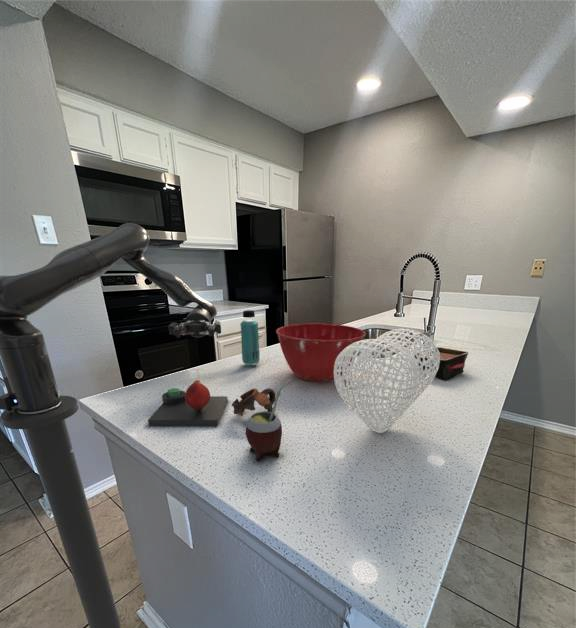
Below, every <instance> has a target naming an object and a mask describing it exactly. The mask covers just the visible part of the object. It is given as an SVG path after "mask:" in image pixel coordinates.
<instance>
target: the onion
mask: <svg viewBox="0 0 576 628" xmlns="http://www.w3.org/2000/svg"><path fill="white" fill-rule="evenodd" d="M185 393H186V394H185V400H186V402H187V404H188V405H189V406H190V407H191V408H193V409H196V410H202V409H203V408H204V407H205V406H206V405H207V404H208V403H209V401H210V396H211V392H210V390H209V388H208V387H207V386H206V385H204V384H203V383H201V380H200V379H198V378H197V379H195V380H194V381H193V382H192V383H191V384H190V385H189V386H188V388H187V389H186V391H185Z"/></svg>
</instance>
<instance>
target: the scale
mask: <svg viewBox="0 0 576 628" xmlns="http://www.w3.org/2000/svg"><path fill="white" fill-rule="evenodd" d="M179 390H180V396H177V397H168V392H167V391H166V392H164V393H163V394H162V395H161V400H162V403H161V404H160V405H159V407H158V408H156V410H155V411H154V412H153V413H152V414H151V415H150V417H149V418H148V419H147V423H148V427H218V426H219V424H220V421H221V419H222V417H223V414H224V412H225V410H226V407H227V405H228V402H229V399H228V396H225V395H223V396H220V395H219V396H218V395H217V396H216V395H215V396H214V395H210V401H209V403H208V404H207V405H206V406H205V407H204V408H203V409H202V410H196V409H193V408H191V407H190V406H189V405H188V404H187V402H186V400H185V394H186V391H185V390H181V389H179Z"/></svg>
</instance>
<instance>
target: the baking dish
mask: <svg viewBox="0 0 576 628" xmlns="http://www.w3.org/2000/svg"><path fill="white" fill-rule="evenodd" d="M436 347H437V348H438V350H439V353H440V363H439V368H438V371H437V373H436V375H435V377H434V378H436V379H439V380H441V381H444V382H446V381H451V380H452V379H454V378H456V377H459V376H460V375H461V374H463V373H464V372H465V371H464V368H465V365H466V364H465V363H466V360H467V359H468V355H469V352H468V351H465V350H460V349H454V348H449V347H441V346H436ZM428 350H429V349H426V351H428ZM435 350H436V349H435ZM422 352H423V353H424V350H423V351H422ZM436 352H437V350H436ZM432 353H433V351H432ZM428 354H429V352H428ZM417 355H418V356H419V353H417ZM420 356H421V354H420ZM430 356H431V353H430ZM434 356H435V355H434ZM431 357H432V356H431ZM415 358H416V359H417V356H416V355H415ZM434 359H435V360H436V358H434ZM420 360H421V362H422V361H423V358H422V357H421V358H420ZM427 360H428V358H427V356H425V361H427ZM431 361H432V360H431ZM418 365H419V366H420V363H419V364H418ZM428 365H429V363H428ZM432 366H433V364H432ZM429 368H430V367H428V366H427V370H428V369H429ZM435 369H436V367H435ZM424 370H425V365H424V366H423V371H424ZM431 372H432V370H431Z"/></svg>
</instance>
